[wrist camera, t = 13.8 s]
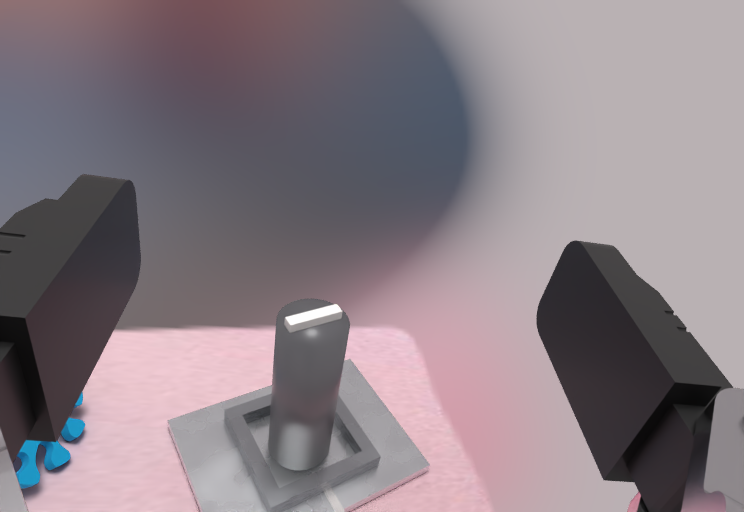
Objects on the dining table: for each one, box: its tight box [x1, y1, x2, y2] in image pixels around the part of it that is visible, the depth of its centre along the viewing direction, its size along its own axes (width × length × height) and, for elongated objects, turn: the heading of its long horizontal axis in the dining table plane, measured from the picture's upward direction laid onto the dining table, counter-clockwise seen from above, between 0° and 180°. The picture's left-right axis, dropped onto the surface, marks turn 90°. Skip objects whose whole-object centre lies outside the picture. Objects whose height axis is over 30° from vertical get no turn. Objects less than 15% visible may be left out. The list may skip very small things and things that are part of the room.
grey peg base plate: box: [168, 359, 430, 512], centre depth 40 cm, size 16×13×2 cm
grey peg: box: [268, 299, 350, 471], centre depth 36 cm, size 5×5×13 cm
